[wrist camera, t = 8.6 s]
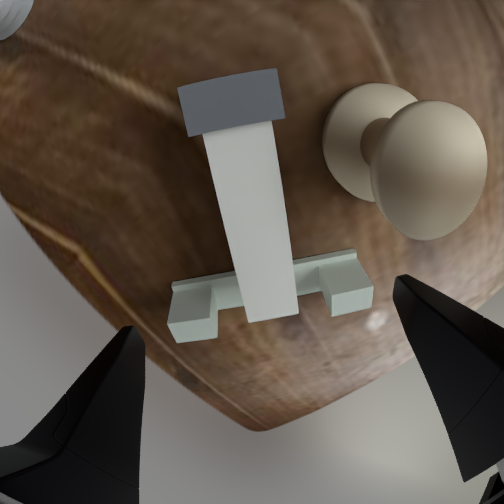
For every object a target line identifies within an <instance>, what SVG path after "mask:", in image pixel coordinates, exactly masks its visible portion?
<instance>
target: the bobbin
mask: <svg viewBox="0 0 504 504" xmlns="http://www.w3.org/2000/svg"><path fill="white" fill-rule="evenodd" d="M322 149H323V155H324V158H325V162H326V164H327V166H328V169H329V170H330V172H331V174H332V175H333V177H334V178H335V179H336V180H337V181H338V182H339V183H340V184H341V185H342V186H343V187H344V188H345V189H346V190H347V191H348V192H349V193H351V194H352V195H354V196H356V197H358V198H360V199H363V200H365V201H371V202H376V204H377V206H378V208H379V210H380V211H381V213H382V214H383V216H384V217H385V218H386V219H387V220H388V221H389V222H390V223H391V224H392V225H393V226H394V227H395V228H396V229H397V230H398V231H399V232H401V233H402V234H403V235H405V236H407V237H409V238H412V239H416V240H432V239H437V238H440V237H442V236H445V235H447V234H448V233H450V232H452V231H453V230H455V229H456V228H457V227H459V226H460V225H461V224H462V223H463V222H464V221H465V220H466V219H467V217H468V216H469V215H470V214H471V212H472V211H473V209H474V208H475V206H476V204H477V202H478V200H479V198H480V196H481V193H482V191H483V188H484V184H485V180H486V173H487V152H486V146H485V142H484V139H483V136H482V133H481V131H480V129H479V127H478V125H477V124H476V123H475V121H474V120H473V119H472V117H471V116H470V115H469V114H468V113H466V112H465V111H464V110H463V109H461V108H459V107H457V106H455V105H452V104H449V103H445V102H440V101H435V100H420V101H418V100H417V99H416V98H415V97H414V96H412V95H411V94H410V93H409V92H407V91H405V90H403V89H402V88H399V87H397V86H394V85H389V84H380V83H368V84H363V85H359V86H357V87H354V88H352V89H350V90H349V91H347V92H345V93H344V94H343V95H342V96H341V97H340V98H339V99H338V100H337V101H336V102H335V103H334V105H333V106H332V107H331V109H330V111H329V113H328V115H327V117H326V120H325V123H324V127H323V132H322Z"/></svg>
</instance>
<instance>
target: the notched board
mask: <svg viewBox="0 0 504 504" xmlns="http://www.w3.org/2000/svg"><path fill="white" fill-rule="evenodd" d="M293 268H294V277H295V285H296V293H297V296H299V295H304V294H309V293H313V292H318V291H322V293H323V296H324V299H325V301H326V304H327V306H328V309H329V311H330V314H331V317H333V316H337V315H342V314H346V313H350V312H354V311H358V310H363V309H367V308H371V305H372V297H373V288H374V286H373V284H372V282H371V281H370V279H369V277H368V276H367V274H366V272H365V271H364V269H363V268H362V266H361V264H360V263H359V261H358V260H357V252H356V251H355V249H354V248H353V249H348V250H343V251H337V252H332V253H327V254H322V255H317V256H312V257H306V258H301V259H296V260H293ZM171 287H172V290H173V296H172V301H171V306H170V311H169V316H168V321H167V325H168V327H169V329H170V331H171V333H172V335H173V337H174V338H175V340H176V342H177V343H181V342H189V341H197V340H205V339H212V338H217V330H218V310H221V309H227V308H233V307H239V306H244V303H243V299H242V295H241V291H240V287H239V283H238V279H237V276H236V272H235V271H231V272H226V273H220V274H214V275H209V276H203V277H198V278H192V279H186V280H180V281H175V282H172V286H171Z"/></svg>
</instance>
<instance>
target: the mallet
mask: <svg viewBox="0 0 504 504" xmlns="http://www.w3.org/2000/svg"><path fill="white" fill-rule="evenodd" d="M177 89H178V94H179V98H180V103H181V107H182V111H183V116H184V120H185V125H186V129H187V133H188V137H192V136H196V135H200V134H203V138H204V143H205V147H206V152H207V156H208V160H209V165H210V169H211V173H212V177H213V182H214V186H215V190H216V194H217V198H218V203H219V207H220V211H221V215H222V219H223V223H224V227H225V231H226V236H227V240H228V244H229V248H230V252H231V256H232V260H233V264H234V268H235V272H236V276H237V279H238V283H239V287H240V291H241V295H242V299H243V303H244V307H245V311H246V314H247V318H248V322H249V323H251V322H256V321H262V320H267V319H273V318H278V317H283V316H288V315H294V314H299V311H298V302H297V293H296V285H295V277H294V268H293V260H292V253H291V245H290V238H289V230H288V223H287V216H286V209H285V202H284V195H283V189H282V182H281V176H280V169H279V163H278V157H277V151H276V145H275V139H274V133H273V127H272V122H271V121H272V120H278V119H285V113H284V107H283V101H282V95H281V90H280V84H279V79H278V74H277V68H274V69H266V70H259V71H253V72H246V73H241V74H235V75H230V76H225V77H220V78H215V79H210V80H206V81H201V82H197V83H193V84H189V85H185V86H181V87H178V88H177Z"/></svg>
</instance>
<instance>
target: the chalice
mask: <svg viewBox="0 0 504 504" xmlns="http://www.w3.org/2000/svg"><path fill="white" fill-rule="evenodd" d="M33 2H34V0H0V40H3V39H6V38H7V37H9V36H11V35H12V34H13V33H14V32H15V31H16V30H17V29H18V28H19V27H20V26H21V25H22V23H23V22H24V21H25V19H26V18H27V16H28V14H29V12H30V10H31V8H32V5H33Z"/></svg>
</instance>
